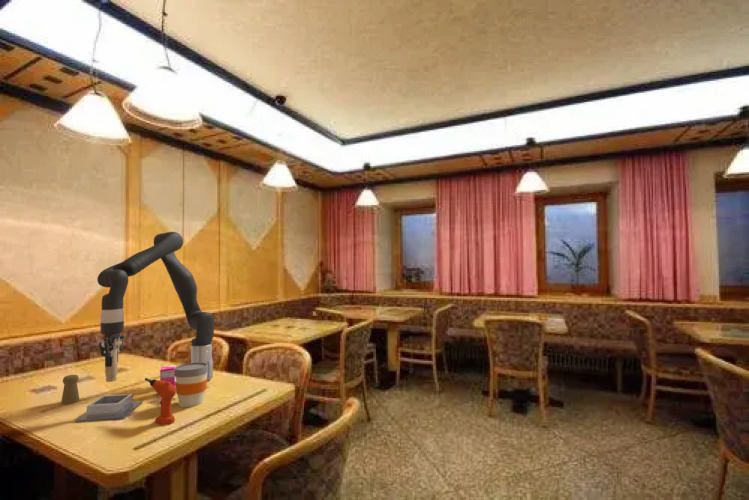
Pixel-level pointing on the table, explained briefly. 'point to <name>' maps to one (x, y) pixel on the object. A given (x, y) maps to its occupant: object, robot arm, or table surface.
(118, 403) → the chuck block
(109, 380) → the handle
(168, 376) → the supplement box
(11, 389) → the table surface
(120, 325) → the robot arm
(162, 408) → the toy drill
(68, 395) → the pepper shaker
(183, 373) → the reusable coffee cup
